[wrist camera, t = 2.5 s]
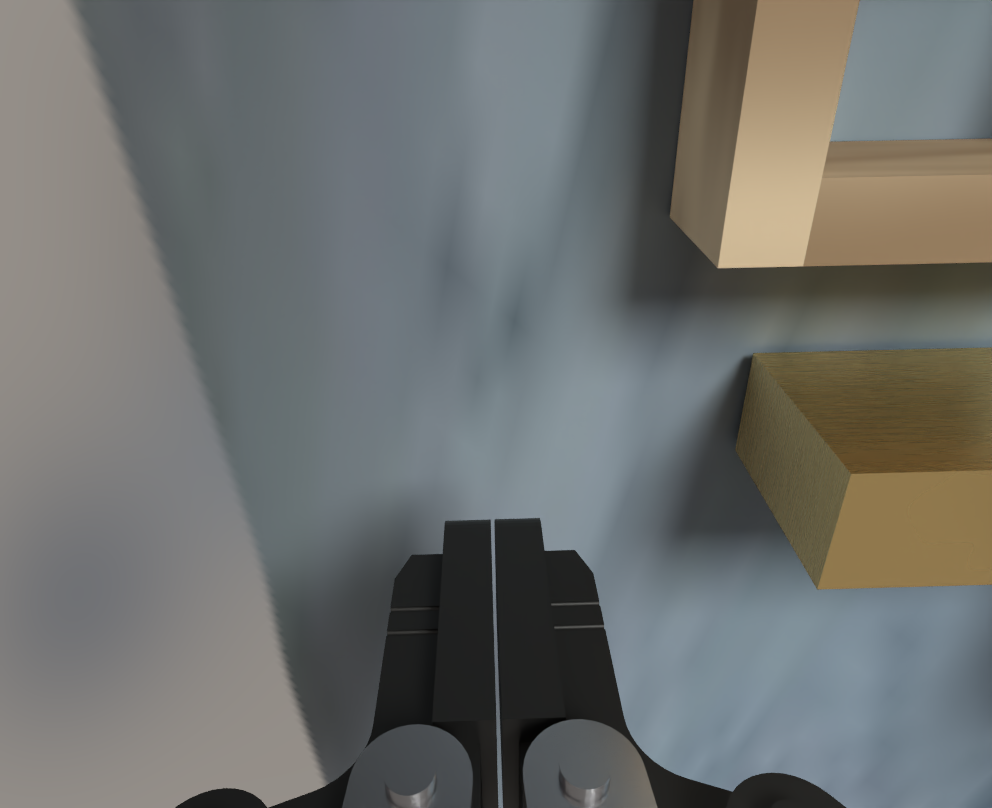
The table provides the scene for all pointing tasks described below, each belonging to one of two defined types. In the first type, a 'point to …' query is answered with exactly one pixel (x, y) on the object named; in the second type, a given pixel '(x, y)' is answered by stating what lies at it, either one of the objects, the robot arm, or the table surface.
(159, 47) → the table surface
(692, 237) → the wooden square frame
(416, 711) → the robot arm
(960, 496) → the bar
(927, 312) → the table surface
